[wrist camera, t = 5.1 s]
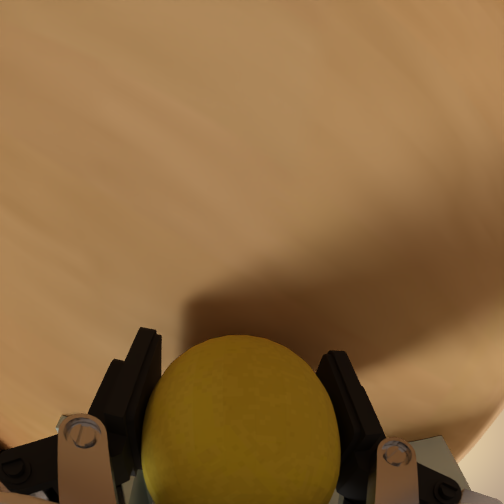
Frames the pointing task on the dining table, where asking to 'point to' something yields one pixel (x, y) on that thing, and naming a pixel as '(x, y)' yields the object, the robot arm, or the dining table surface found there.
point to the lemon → (240, 428)
